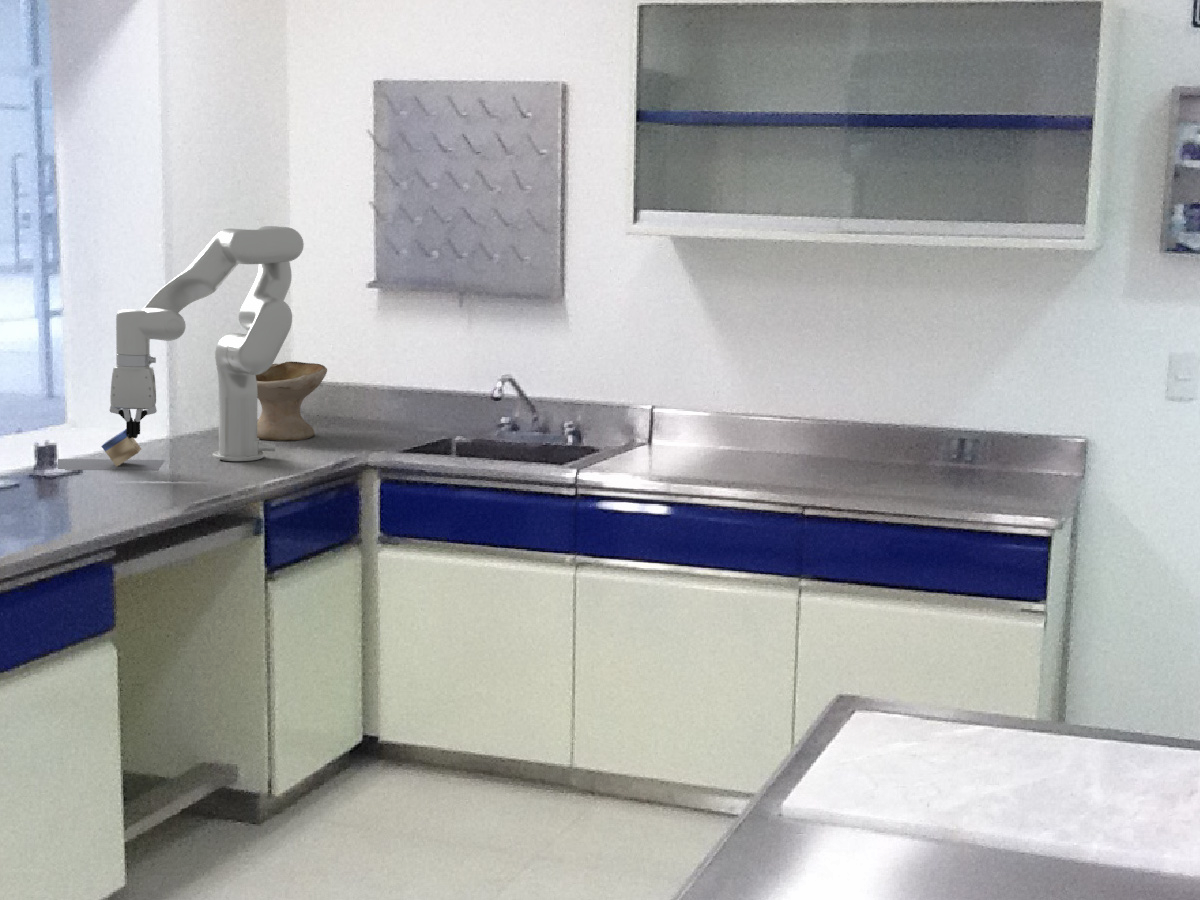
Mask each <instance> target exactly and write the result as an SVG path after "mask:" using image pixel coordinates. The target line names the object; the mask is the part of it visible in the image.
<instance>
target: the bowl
mask: <svg viewBox="0 0 1200 900" xmlns="http://www.w3.org/2000/svg"><path fill="white" fill-rule="evenodd" d="M327 373H328V368H327V367H326V366H325V365H323V364H320V363H314V362H313V363H311V362H300V361H285V362H280V363H273V364H272V365H271V367H270V368H269V369H268V370H267V371H265V372H264V373H262V374H259V375H255V376H256V380H257V389H258V397H257V400H259V402H260V405H261V413H260V417H259V418H257V438H259V440H266V441H284V442H285V441H288V442H293V441H295V442H296V441H301V440H307V439H311V438H312V437H315V430H314V428H313V427H312V426H311V425H310V424H309V423H308V422H306V420H305V419H304V418H303V416H302V415H301V406H302V403H303V401H304V400H305V398H306V397H308V396H309V395H310V394H311V393H312V392H315V390H316V389H317V388H318V387H319V386H320V385H321V384H322V382H323V380H324V379H325V377H326V375H327Z"/></svg>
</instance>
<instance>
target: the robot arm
mask: <svg viewBox="0 0 1200 900" xmlns="http://www.w3.org/2000/svg"><path fill="white" fill-rule="evenodd" d="M304 244H305V243H304V239H303V236H302V235H301V234H300V232H298V231H297V230H296V229H295V228H293V227H288V226H276V225H275V226H274V225H264V226H261V227H259V228H258V229H242V228H226V229H222V230H220V231H219V232H218V233H216V235H214V237H213V238H212V239H211V240H210V241H209V242H208V244H207V245H206V246H205V247H204V249H202V251H201V252H200V253H199V254H198V255H197V257H196V258H195V259H194V260H193V261H192V262H191V263H190V264H189V266H188V267H187V268H186V269H185V270H183V271H182V272H181V273H179V274H178V275H177V276H175V277H174V278H173V279H171V280H170V281H169V282H168V283H166V284H165V285H163V286H162V287H161V288H160V289H159V290H158V291H157V292H156V293H155V294H154V295H153V296H152V297H151V298H150V300H149V301H148V302H147V303H146V305H145V306H144V307H143V308H142V309H134V308H133V309H131V308H130V309H128V308H127V309H120V310H118V311H117V312H116V315H115V317H116V318H115V324H116V326H115V328H116V329H115V330H116V331H115V333H116V334H115V336H116V337H115V338H116V347H115V348H116V349H115V350H116V363H115V364H116V365H115V366H113V369H112V375H111V383H110V399H109V402H110V407H109V413H111V414H112V413H113V414H116V415H119V416H121V418H122V419H123V420H124V421H125V422H126V428H125V429H126V433H127V434H129V438H134V439H137V438H138V435H141V421H142V419H144V418H145V417H146V416H149V415H153V414H157V412H158V411H157V410H158V409H157V406H156V404H157V388H156V387H157V385H156V376H155V370H154V367H152V366H150V365H152V364H156V363H157V358H156V357H157V356H156V357H155V356H154V357H153V356H151V354H150V353H151V351H150V345H151V344H150V340H158V341H165V342H173V341H175V340H178V339H179V338H181V337H182V336H183V335H184V333H185V330H186V325H187V324H186V321H185V318H184V317H183V316H182V315H181V314H180V312H181V311H182V310H183V309H185V308H186V307H187V306H189V305H191V304H192V303H195V301H198V300H201V299H205V298H206V297H208V296H210V295H212V294H213V293H215V292H216V291H217V290H218V289H219V287H220V286H221V285H222V284H223V282H224V281H226V279H227V278H228V276H229V275H230V274H231V273H232V272H233V271H234V270H235V269H236V267H237V266H238V265H258V268H257V269H258V272H257V275H256V278H255V280H254V283H253V284H252V286H251V288H250V290H249V292H248V294H247V296H246V298H245V300H244V302H243V304H242V306H241V307H240V310H239V312H238V321H239V324H240V326H241V327H242V328H243V329H245V330H246V331H248V332H247V333H246V334H245V333H239V332H238V333H237V332H232V333H228V334H225V335H224V336H223V337H222V338H220V339H219V341H218V342H217V344H216V347H215V351H214V353H215V355H214V356H215V357H214V358H215V365H216V370H217V380H218V382H217V383H218V450H216V451H214V452H212V457H213V459H217V460H218V459H219V460H220V461H226V462H251V461H258V460H262V459H263V458H264V456H265V455H264V452H276V444H275V443H268V442H267V443H263V442H260V439H259V438H257V420H258V398H257V397H258V389H257V380H256V376H255V375H259V374H262V373H264V372H265V371H267V370H268V369H269V368H270V367H271V365H272V364H274V362H275V360H276V358H277V356H278V355H279V352H280V351H281V348H282V347H283V344H284V343H285V340H286V339H287V337H288V335H289V332H290V330H291V328H292V325H293V324H292V323H293V312H292V309H291V307H290V305H289V304H287V302H286V301H285V298H286V297H287V293H289V290H290V287H291V284H292V277H293V276H292V268H291V263H290V262H292V261H295V260H296V259H298V258H299V257H300V256H301V255H302V253H303V250H304V247H305V246H304ZM131 410H136V411H135V417H134V419H133V417H132V412H131Z"/></svg>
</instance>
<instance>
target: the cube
mask: <svg viewBox="0 0 1200 900" xmlns="http://www.w3.org/2000/svg"><path fill="white" fill-rule="evenodd" d="M135 439H136V438H129V434H127V433H126V428H125V429H124V430H122V431H120V432H119V433H118V434H116V435H114V436H112V437H111V438H110V439H108V440H106V441H105V442H104V443H103V444H102V445H101V448H102V449H103V451H104V452H105V453H106V455H107V457H108V458H110V459H111V460H112V461H113V463H114V464H115V465H116V467H117V466H119V465H120V464H122V463H123V462H125V461H126V460H130V459H131V458H132V457H134V456H136V455H137V454H138V453H139V452H140V451H141V450H142V448H141V447H140V445H139V444H138V442H137V441H136V440H135Z"/></svg>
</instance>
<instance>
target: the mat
mask: <svg viewBox="0 0 1200 900" xmlns="http://www.w3.org/2000/svg"><path fill="white" fill-rule="evenodd" d="M57 459H58V469H65V470H66V471H67V470H68V471H70V470H71V471H75V470H76V471H78V470H80V471H159V470H160V468H161V467H162V465H164V463H165V461H166V460H165V459H128V460H126V461H125V462H123V463H122V464H120V465H119V466H117V467H116V465H115V464H114V463H113V461H112V460H111V459H108V458H107V459H105V458H103V459H102V458H101V459H100V458H99V459H97V458H95V459H92V458H90V459H89V458H87V459H86V458H84V459H83V458H57ZM65 470H64V471H65Z"/></svg>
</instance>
